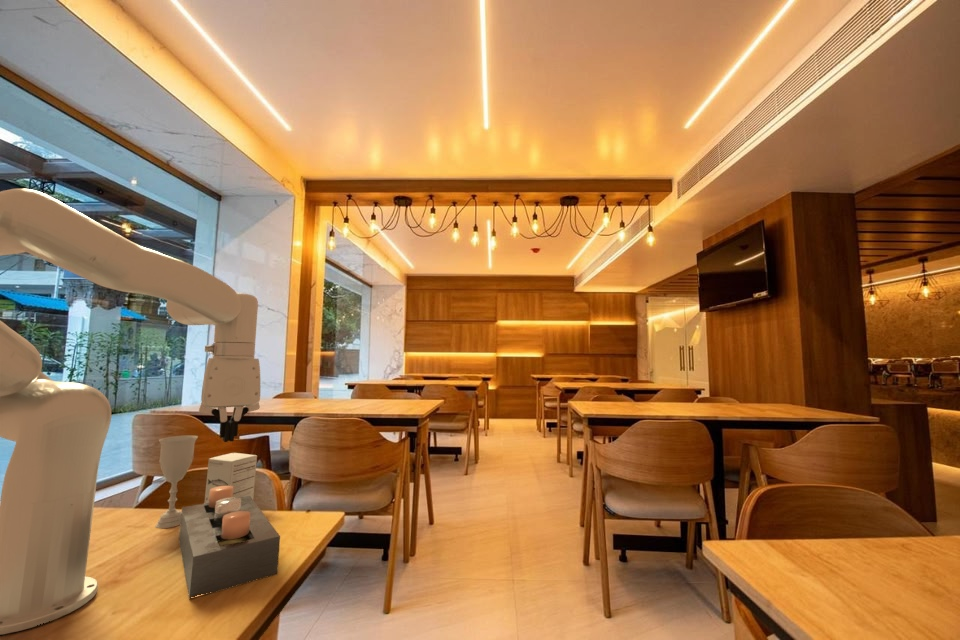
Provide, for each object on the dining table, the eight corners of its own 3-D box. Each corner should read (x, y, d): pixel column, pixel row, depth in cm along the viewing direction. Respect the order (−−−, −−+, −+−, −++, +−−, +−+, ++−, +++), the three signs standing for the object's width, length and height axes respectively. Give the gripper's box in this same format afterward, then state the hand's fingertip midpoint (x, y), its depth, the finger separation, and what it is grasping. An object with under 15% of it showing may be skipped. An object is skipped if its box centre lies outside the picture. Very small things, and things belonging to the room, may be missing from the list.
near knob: (223, 541, 64) (224, 521, 64) (219, 533, 67) (221, 514, 67) (251, 535, 67) (252, 516, 67) (246, 527, 70) (248, 509, 70)
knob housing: (189, 599, 59) (193, 556, 60) (178, 538, 79) (181, 507, 80) (277, 573, 67) (280, 536, 67) (247, 524, 87) (249, 495, 87)
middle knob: (215, 523, 71) (217, 506, 71) (212, 516, 74) (214, 500, 74) (241, 518, 73) (242, 501, 74) (237, 512, 76) (239, 495, 77)
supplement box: (201, 514, 92) (207, 458, 93) (230, 504, 99) (234, 451, 100) (226, 518, 90) (231, 460, 91) (254, 507, 97) (258, 454, 98)
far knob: (209, 509, 78) (211, 493, 78) (207, 503, 81) (208, 488, 81) (233, 504, 80) (234, 489, 81) (230, 499, 83) (231, 484, 84)
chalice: (172, 530, 83) (181, 441, 85) (140, 529, 83) (149, 441, 85) (197, 517, 90) (205, 435, 92) (168, 516, 90) (176, 435, 92)
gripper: (192, 350, 77) (184, 448, 75) (277, 352, 86) (272, 439, 84) (189, 351, 82) (181, 442, 80) (269, 352, 92) (264, 434, 90)
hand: (228, 440), depth 82 cm, fingers closed
